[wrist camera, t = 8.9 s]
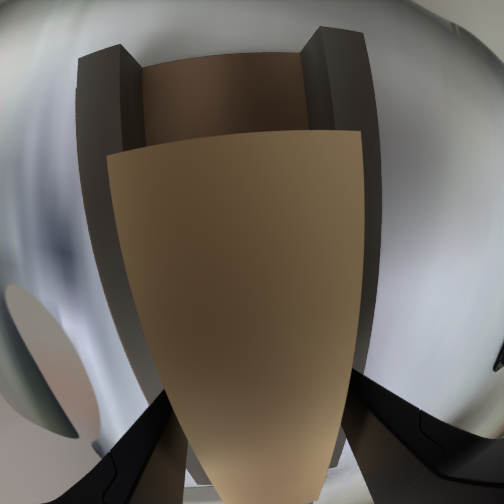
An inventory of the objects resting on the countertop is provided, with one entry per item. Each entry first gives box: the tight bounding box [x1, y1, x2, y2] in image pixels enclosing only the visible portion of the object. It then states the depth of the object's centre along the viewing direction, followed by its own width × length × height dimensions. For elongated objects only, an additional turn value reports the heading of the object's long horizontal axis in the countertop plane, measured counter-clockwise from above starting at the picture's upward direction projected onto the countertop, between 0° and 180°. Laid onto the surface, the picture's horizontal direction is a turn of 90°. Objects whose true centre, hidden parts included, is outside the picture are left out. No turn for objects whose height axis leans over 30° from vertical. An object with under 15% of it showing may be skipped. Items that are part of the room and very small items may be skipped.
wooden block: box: [107, 130, 364, 504], centre depth 9 cm, size 4×14×6 cm, turn 5°
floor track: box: [76, 26, 382, 485], centre depth 11 cm, size 12×22×4 cm, turn 5°
